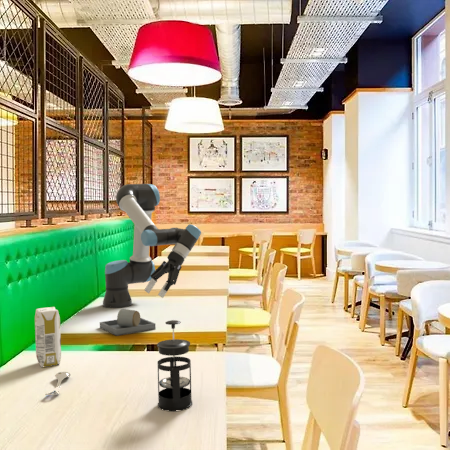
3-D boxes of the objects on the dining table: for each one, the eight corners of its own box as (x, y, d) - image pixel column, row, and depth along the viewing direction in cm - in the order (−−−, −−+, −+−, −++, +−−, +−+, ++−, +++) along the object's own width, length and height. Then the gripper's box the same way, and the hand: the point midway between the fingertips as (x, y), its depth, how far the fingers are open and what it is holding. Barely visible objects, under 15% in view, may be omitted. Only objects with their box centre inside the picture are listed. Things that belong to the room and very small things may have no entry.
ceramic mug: (134, 329, 233) (133, 311, 233) (116, 328, 236) (116, 310, 236) (144, 323, 244) (144, 306, 243) (128, 322, 246) (127, 306, 246)
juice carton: (39, 368, 183) (37, 312, 182) (35, 362, 191) (33, 308, 190) (62, 365, 186) (60, 310, 185) (57, 358, 194) (55, 305, 193)
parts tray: (99, 327, 240) (99, 322, 240) (137, 321, 250) (137, 316, 250) (116, 335, 225) (116, 329, 225) (155, 329, 235) (155, 323, 235)
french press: (156, 399, 153) (154, 317, 152) (190, 396, 155) (188, 315, 154) (158, 415, 142) (156, 327, 140) (195, 412, 143) (192, 325, 142)
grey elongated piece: (58, 386, 154) (41, 387, 154) (58, 399, 154) (41, 400, 154) (72, 369, 174) (57, 369, 174) (72, 380, 174) (57, 381, 174)
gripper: (198, 262, 244) (172, 302, 237) (170, 256, 264) (146, 294, 258) (186, 252, 240) (160, 293, 234) (159, 248, 260) (135, 285, 254)
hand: (153, 294), depth 246 cm, fingers open, 13 cm apart
